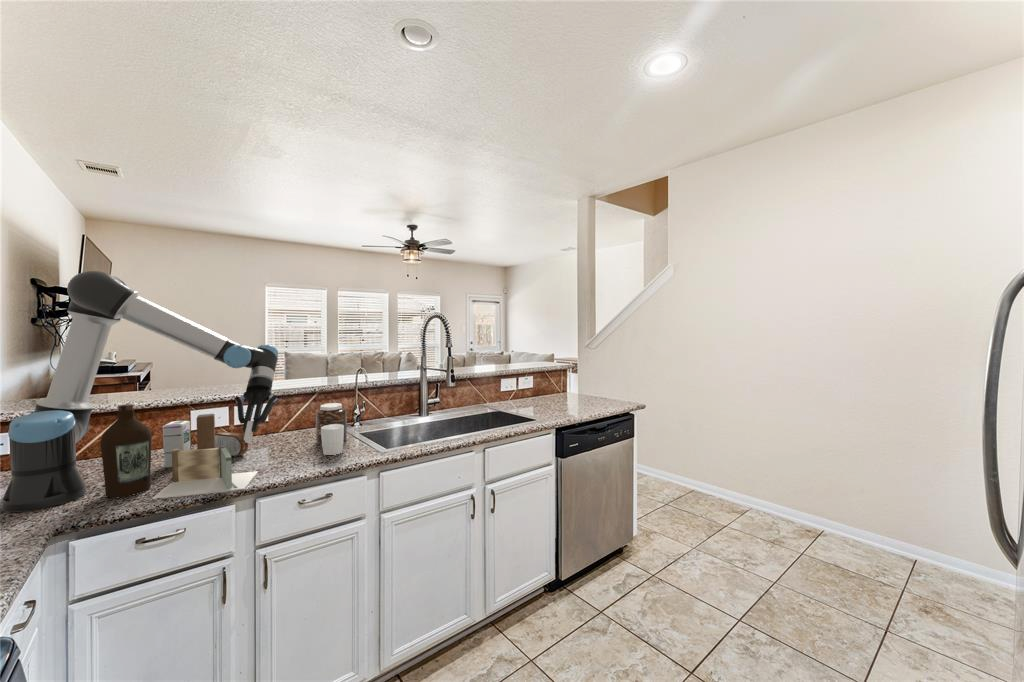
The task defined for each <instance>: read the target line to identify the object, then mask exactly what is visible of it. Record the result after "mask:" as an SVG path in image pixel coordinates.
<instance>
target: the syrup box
mask: <svg viewBox="0 0 1024 682" xmlns="http://www.w3.org/2000/svg"><path fill="white" fill-rule="evenodd" d="M191 436H192V435H191V421H190V420H176V421H170V422H168V423H166V424H164V425H162V440H163V441H162V445H163V447H162V448H163V460H164V461H163V463H164V464H163V465H164V468H172V450H174V449H180V451H186V450H192V437H191Z"/></svg>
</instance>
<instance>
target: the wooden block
mask: <svg viewBox="0 0 1024 682" xmlns="http://www.w3.org/2000/svg"><path fill="white" fill-rule="evenodd" d="M215 419H216V418H215V413H204V414H198V415H197V417H196V446H197V448H196V450H199V449H212V448H215V434H216V420H215Z"/></svg>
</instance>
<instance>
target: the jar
mask: <svg viewBox="0 0 1024 682" xmlns="http://www.w3.org/2000/svg"><path fill="white" fill-rule="evenodd" d="M331 424H341V425H344V440H343V443H345V442H346V441H347V440H348V435H347V433H348V432H347V431H348V429H347V428H348V427H347V426H348V423H347V409H346V408H344V407H343V404H342V403H339V402H329V403H324V404H321V405H320V408H319V409H318V410H316V413H315V438H316V440H315V441H316V444H317V445H319V444H320V446H322V439H321V427H323V426H326V425H331Z"/></svg>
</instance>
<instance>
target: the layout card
mask: <svg viewBox="0 0 1024 682" xmlns="http://www.w3.org/2000/svg"><path fill="white" fill-rule="evenodd" d="M258 473H259V471H257V470H256V471H255V470H254V471H247V472H235V473H232V488H228V489H227V488H226V486H225V483H224V481H223V479H222V477H220V476H219V477H218V478H210V479H200V480H190V481H179V482H173V481H172V482H170V483H169V484H168V485H166V486H165V487H164V488H163V489H162V490H160V491H159V492H158V493H156V494H155V495H154V496H153V497H151V500H152V499H153V500H158V499H157V498H163V499H169V498H170V497H172V498H179V497H189V496H198V495H200V496H201V495H209V494H218V493H219V494H220V493H225V492H226V493H227V492H236V491H245V490H246V489H247V487H248V486H249V485H250V483H252V481H253V480H254V479H255V477H256V476H257V475H256V474H258ZM168 497H169V498H168ZM170 499H171V498H170Z"/></svg>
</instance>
